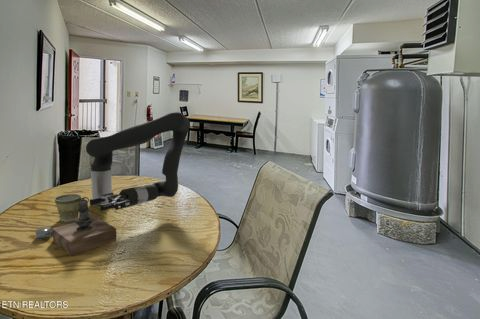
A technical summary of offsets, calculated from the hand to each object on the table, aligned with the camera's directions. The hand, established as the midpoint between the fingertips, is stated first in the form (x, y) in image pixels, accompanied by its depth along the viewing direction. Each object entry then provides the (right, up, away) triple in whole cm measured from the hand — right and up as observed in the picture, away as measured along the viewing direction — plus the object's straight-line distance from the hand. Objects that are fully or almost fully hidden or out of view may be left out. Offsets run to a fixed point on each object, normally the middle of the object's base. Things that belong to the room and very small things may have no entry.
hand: (95, 205), depth 113 cm
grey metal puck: (-20, -12, +1) cm, 23 cm away
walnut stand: (-3, -13, -1) cm, 14 cm away
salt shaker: (-3, -8, -2) cm, 9 cm away
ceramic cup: (-19, -9, +19) cm, 28 cm away
